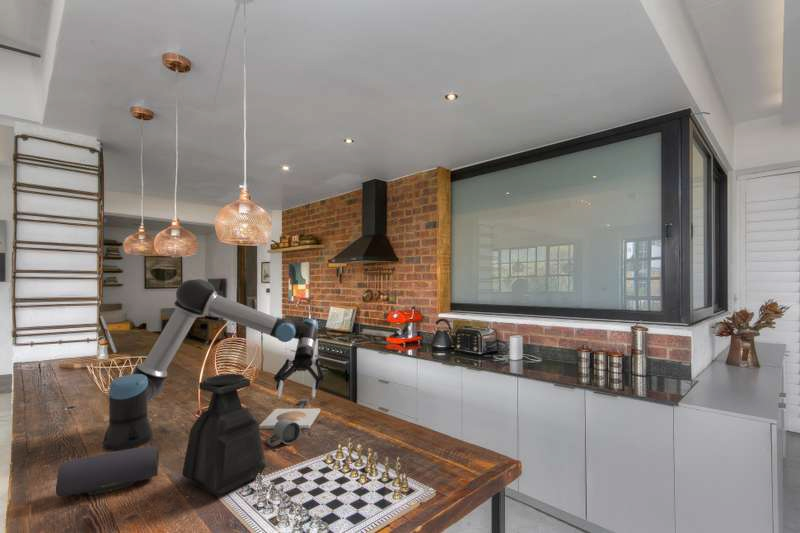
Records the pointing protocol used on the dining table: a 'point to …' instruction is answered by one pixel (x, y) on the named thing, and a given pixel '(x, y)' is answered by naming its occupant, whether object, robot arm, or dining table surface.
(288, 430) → the ceramic mug
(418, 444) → the dining table surface
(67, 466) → the bluetooth speaker
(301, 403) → the charging plate
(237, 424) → the bottle
